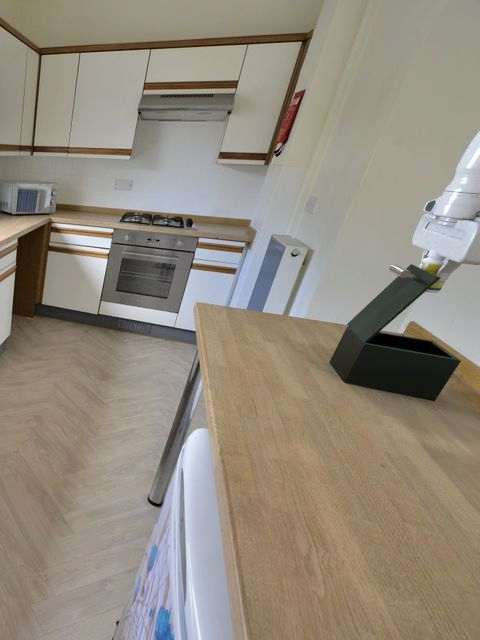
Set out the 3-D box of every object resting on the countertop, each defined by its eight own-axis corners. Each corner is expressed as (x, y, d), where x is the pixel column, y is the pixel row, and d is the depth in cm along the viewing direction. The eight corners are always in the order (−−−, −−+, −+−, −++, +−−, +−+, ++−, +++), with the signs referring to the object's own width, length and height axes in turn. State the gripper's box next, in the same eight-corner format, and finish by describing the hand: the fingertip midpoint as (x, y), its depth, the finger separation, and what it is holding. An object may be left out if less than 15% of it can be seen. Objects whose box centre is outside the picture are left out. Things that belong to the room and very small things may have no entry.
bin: (410, 378, 95) (433, 340, 91) (434, 401, 86) (461, 360, 82) (328, 362, 101) (347, 326, 96) (344, 382, 92) (364, 343, 88)
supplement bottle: (445, 293, 86) (468, 254, 83) (423, 292, 86) (444, 253, 83) (423, 286, 91) (444, 249, 87) (402, 285, 91) (421, 248, 87)
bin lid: (414, 265, 87) (392, 255, 88) (441, 277, 79) (417, 266, 79) (348, 325, 96) (330, 316, 97) (366, 342, 87) (346, 332, 88)
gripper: (527, 216, 71) (481, 292, 77) (460, 204, 88) (426, 267, 94) (478, 213, 74) (437, 286, 80) (422, 201, 91) (391, 263, 97)
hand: (431, 275), depth 87 cm, fingers closed on supplement bottle, 5 cm apart
